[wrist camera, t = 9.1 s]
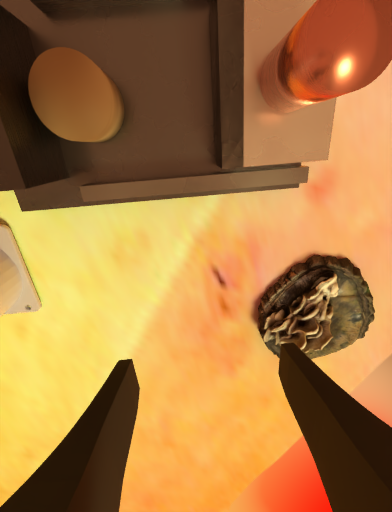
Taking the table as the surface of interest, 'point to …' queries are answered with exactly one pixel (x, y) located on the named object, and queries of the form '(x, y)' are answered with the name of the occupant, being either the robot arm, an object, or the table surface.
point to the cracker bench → (135, 107)
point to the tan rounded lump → (75, 96)
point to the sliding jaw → (289, 73)
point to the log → (317, 307)
